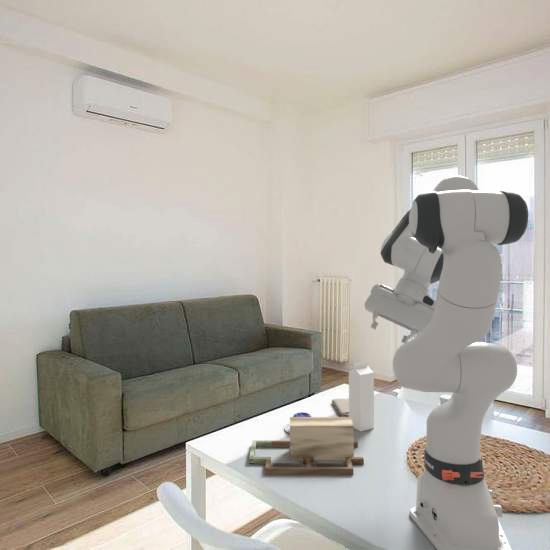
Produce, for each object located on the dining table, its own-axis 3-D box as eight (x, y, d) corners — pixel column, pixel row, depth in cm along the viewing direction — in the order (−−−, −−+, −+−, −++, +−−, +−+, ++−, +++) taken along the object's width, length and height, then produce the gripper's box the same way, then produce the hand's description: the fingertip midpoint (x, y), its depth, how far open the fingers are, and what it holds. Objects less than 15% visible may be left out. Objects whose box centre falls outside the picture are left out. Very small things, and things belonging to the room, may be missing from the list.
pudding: (278, 434, 149) (278, 418, 149) (292, 421, 160) (291, 407, 160) (313, 439, 144) (313, 423, 144) (324, 426, 155) (324, 411, 155)
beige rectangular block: (353, 460, 129) (353, 425, 129) (290, 460, 130) (290, 425, 129) (350, 449, 136) (350, 417, 136) (290, 449, 137) (290, 417, 136)
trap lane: (367, 474, 120) (367, 469, 120) (247, 474, 121) (246, 468, 121) (357, 445, 139) (357, 440, 139) (252, 445, 140) (252, 440, 140)
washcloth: (342, 420, 161) (342, 412, 161) (330, 404, 179) (330, 396, 178) (374, 418, 162) (374, 410, 162) (360, 402, 180) (359, 395, 180)
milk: (348, 426, 154) (348, 361, 154) (362, 422, 157) (361, 359, 157) (360, 432, 149) (359, 365, 148) (374, 428, 152) (373, 363, 151)
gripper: (376, 277, 135) (355, 315, 131) (443, 305, 128) (423, 347, 124) (375, 286, 141) (355, 323, 137) (439, 314, 134) (420, 354, 129)
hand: (388, 335), depth 130 cm, fingers open, 8 cm apart
